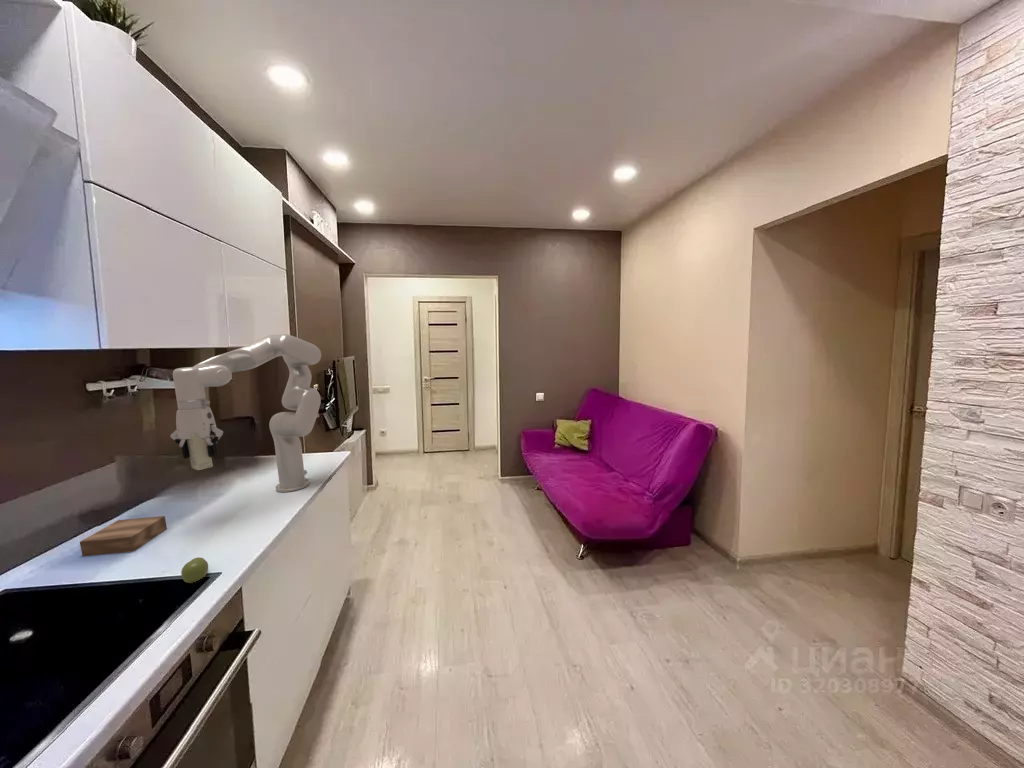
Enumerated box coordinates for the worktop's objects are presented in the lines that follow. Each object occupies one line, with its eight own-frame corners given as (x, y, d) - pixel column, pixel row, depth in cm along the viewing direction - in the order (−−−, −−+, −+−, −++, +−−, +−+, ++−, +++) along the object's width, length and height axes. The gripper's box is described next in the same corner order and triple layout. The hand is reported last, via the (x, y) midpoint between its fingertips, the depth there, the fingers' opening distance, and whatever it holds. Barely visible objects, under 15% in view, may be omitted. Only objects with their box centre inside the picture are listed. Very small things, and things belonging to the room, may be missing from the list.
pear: (178, 568, 103) (183, 557, 111) (181, 589, 103) (186, 576, 111) (205, 560, 106) (208, 550, 114) (208, 581, 106) (211, 569, 114)
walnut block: (121, 534, 135) (118, 520, 135) (167, 530, 137) (164, 515, 136) (82, 557, 122) (79, 541, 121) (134, 552, 123) (131, 536, 123)
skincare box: (213, 466, 138) (208, 431, 136) (198, 471, 134) (192, 434, 132) (205, 464, 141) (200, 429, 140) (190, 467, 138) (185, 432, 136)
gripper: (227, 401, 139) (234, 451, 141) (173, 404, 138) (181, 454, 140) (212, 405, 131) (220, 458, 134) (155, 408, 130) (164, 461, 133)
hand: (200, 456), depth 137 cm, fingers closed on skincare box, 7 cm apart
